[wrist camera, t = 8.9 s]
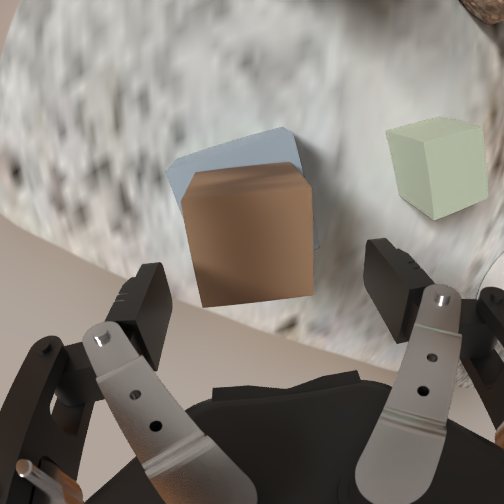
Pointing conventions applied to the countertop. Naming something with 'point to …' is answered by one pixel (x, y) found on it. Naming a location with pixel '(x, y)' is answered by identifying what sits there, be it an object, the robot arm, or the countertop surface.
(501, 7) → the tan long rounded piece
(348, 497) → the robot arm
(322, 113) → the countertop surface
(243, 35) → the countertop surface
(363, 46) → the countertop surface
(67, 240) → the countertop surface
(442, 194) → the sage cube
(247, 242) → the walnut cube
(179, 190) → the base block
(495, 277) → the toilet tissue
